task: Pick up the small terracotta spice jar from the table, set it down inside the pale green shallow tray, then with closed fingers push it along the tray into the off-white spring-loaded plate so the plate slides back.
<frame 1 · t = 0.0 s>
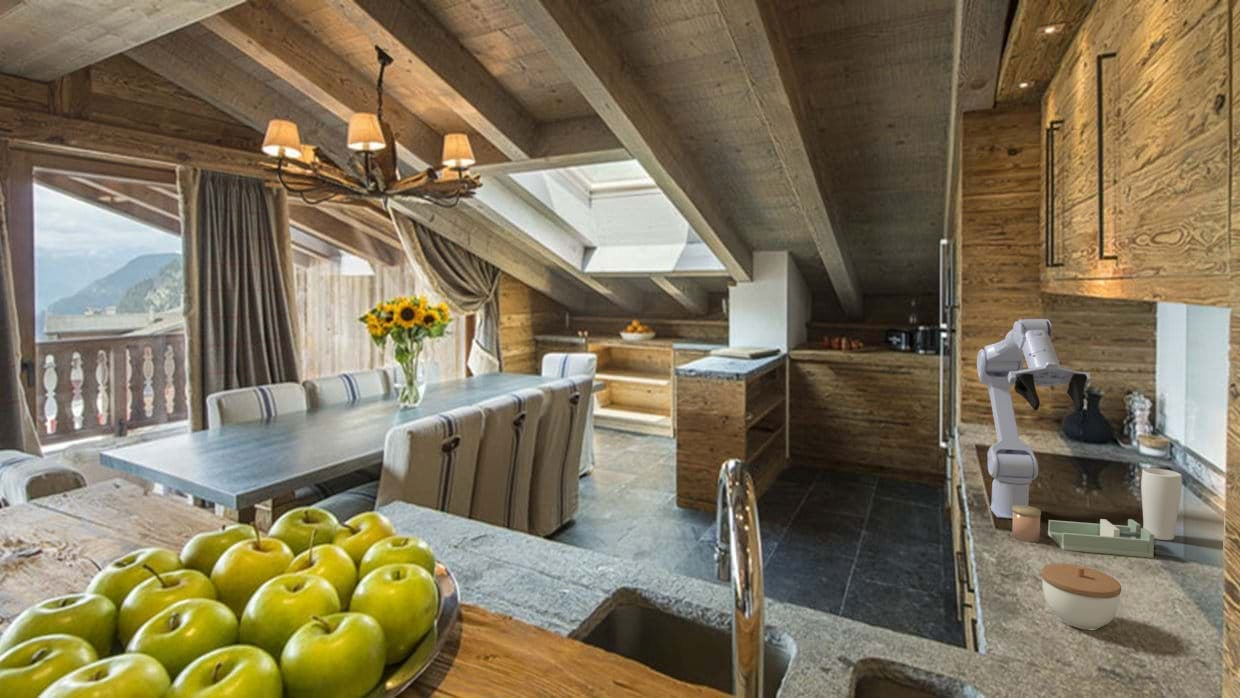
hand: (1058, 407, 123), 32 cm above the kitchen counter, tool tilted 50°, fingers open, 7 cm apart
jar: (1025, 537, 137), on the kitchen counter
pusher: (1128, 534, 130), point 3 cm above the kitchen counter, slide at 0.0 cm
drinking glass: (1158, 537, 136), on the kitchen counter
lidded jar: (1078, 621, 102), on the kitchen counter
pale green shallow tray: (1097, 545, 132), on the kitchen counter
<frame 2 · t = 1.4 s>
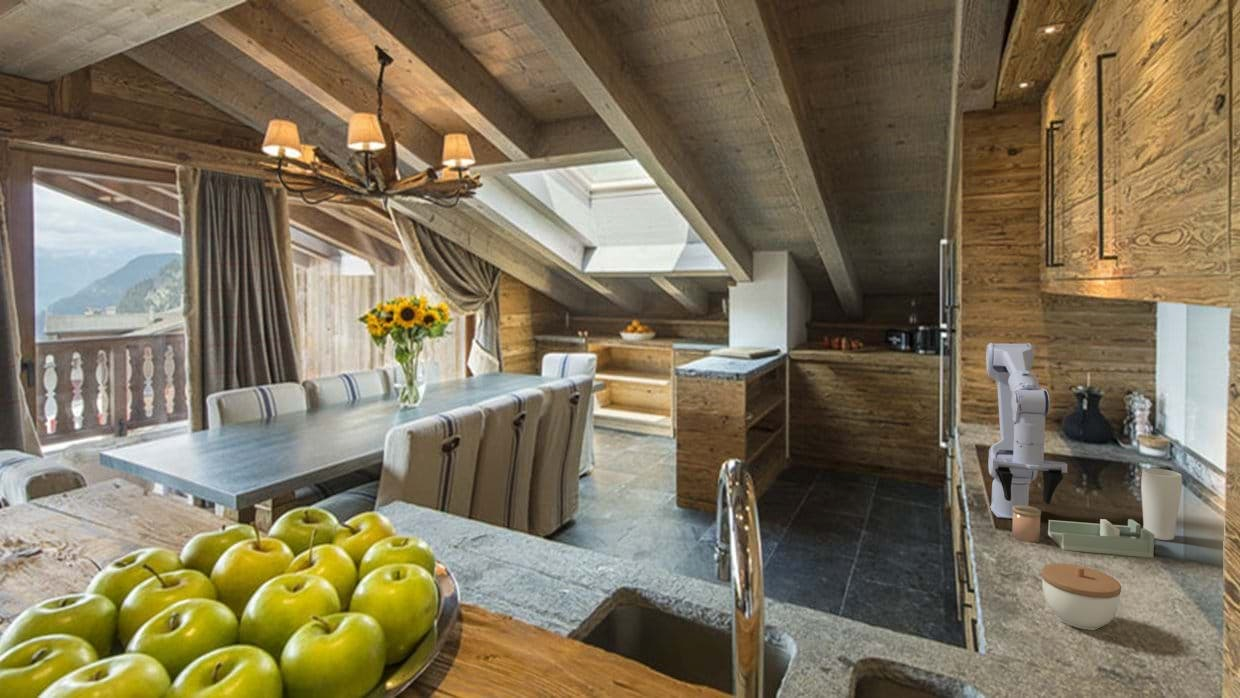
hand: (1026, 500, 136), 9 cm above the kitchen counter, tool pointing down, fingers open, 7 cm apart
nothing on the kitchen counter moved.
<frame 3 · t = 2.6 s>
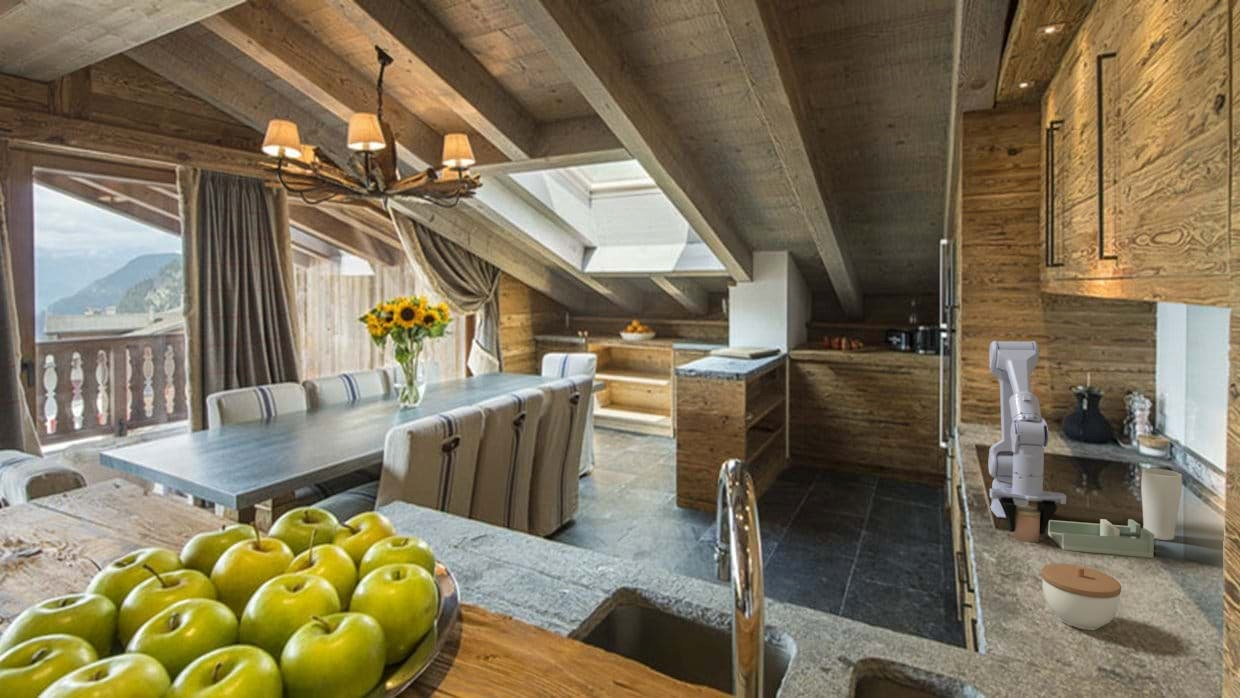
hand: (1025, 531, 137), 2 cm above the kitchen counter, tool pointing down, fingers closed on jar, 5 cm apart
jar: (1025, 537, 137), on the kitchen counter, touching gripper
everything else where it was.
when the fingers open (4 cm above the kitchen counter, at t = 5.4 s): jar stays where it is, resting on pale green shallow tray.
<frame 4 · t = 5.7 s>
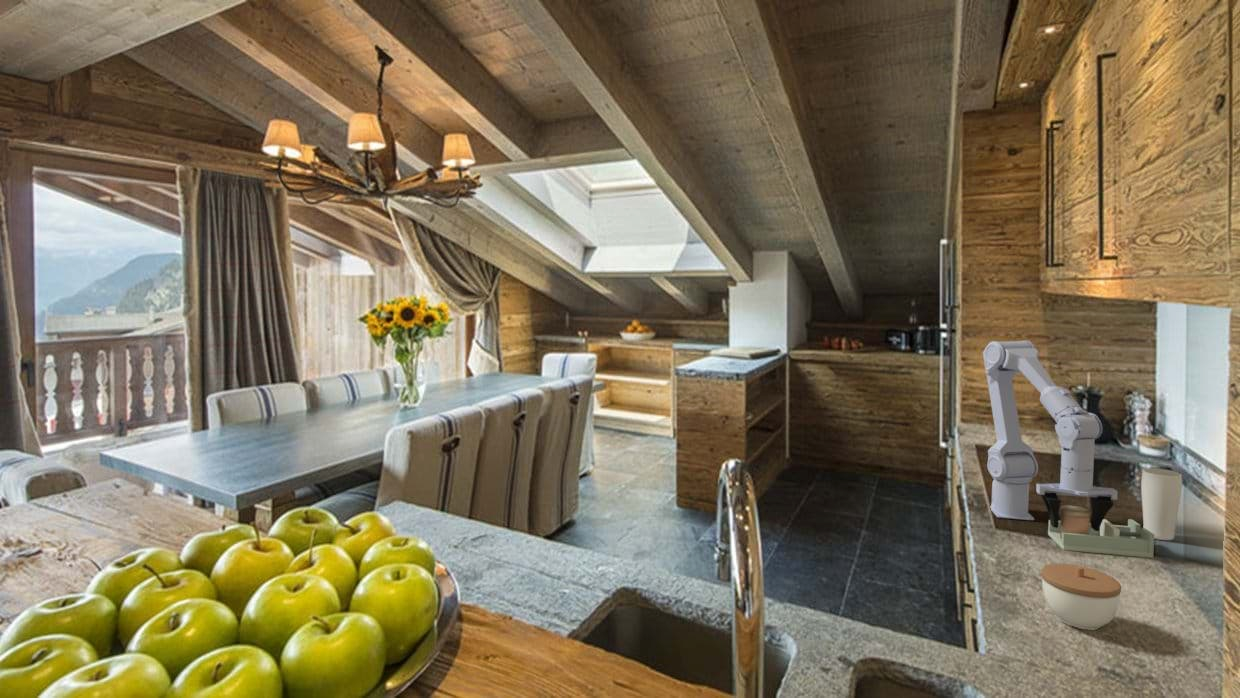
hand: (1074, 527, 133), 4 cm above the kitchen counter, tool pointing down, fingers open, 7 cm apart
jar: (1074, 539, 133), point 1 cm above the kitchen counter, touching pale green shallow tray
everything else where it was.
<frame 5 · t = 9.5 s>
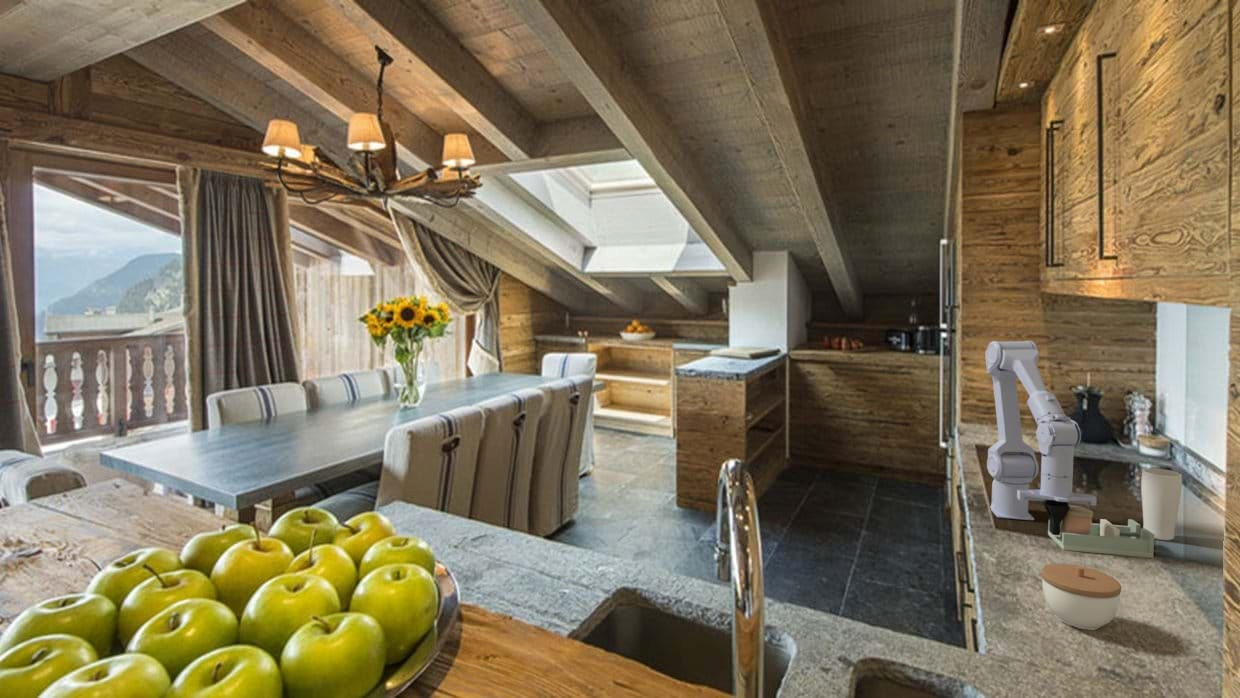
hand: (1054, 533, 134), 2 cm above the kitchen counter, tool pointing down, fingers closed, pressing on jar
jar: (1074, 538, 133), point 1 cm above the kitchen counter, touching gripper, pale green shallow tray
everything else where it was.
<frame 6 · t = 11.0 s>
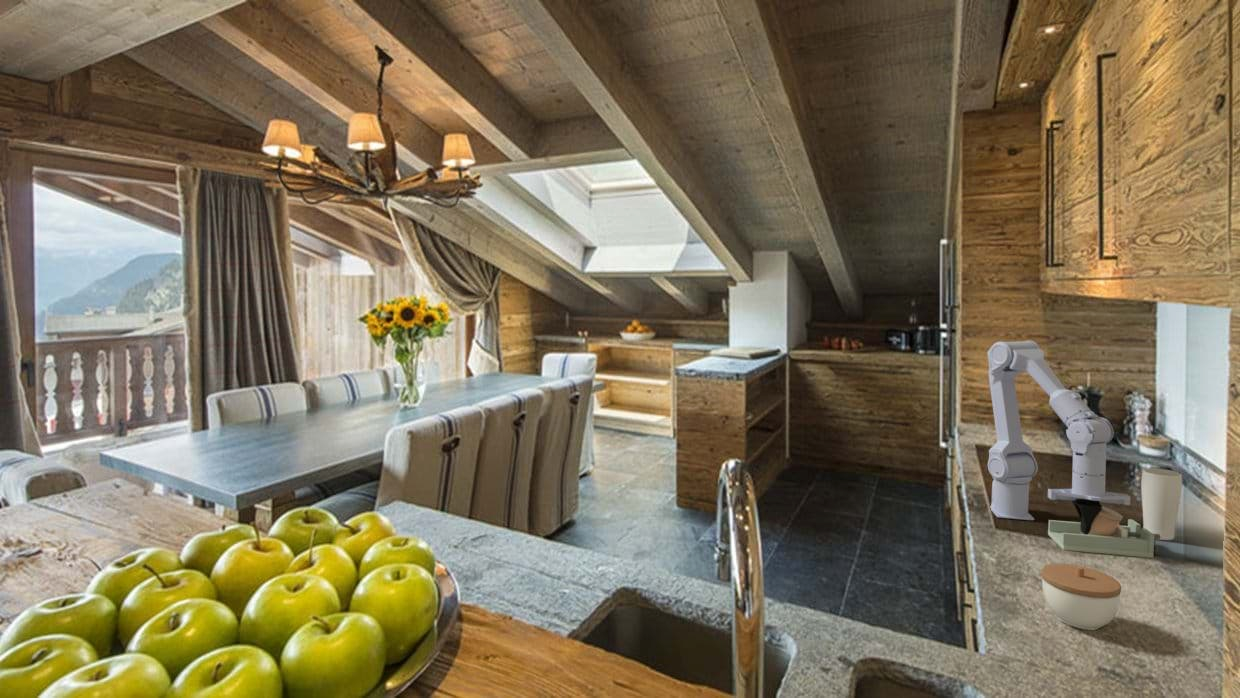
hand: (1087, 533, 132), 3 cm above the kitchen counter, tool pointing down, fingers closed, pressing on jar
jar: (1094, 538, 132), point 2 cm above the kitchen counter, tilted 17°, touching gripper, pale green shallow tray
pusher: (1136, 534, 130), point 3 cm above the kitchen counter, slide at 1.4 cm
everything else where it was.
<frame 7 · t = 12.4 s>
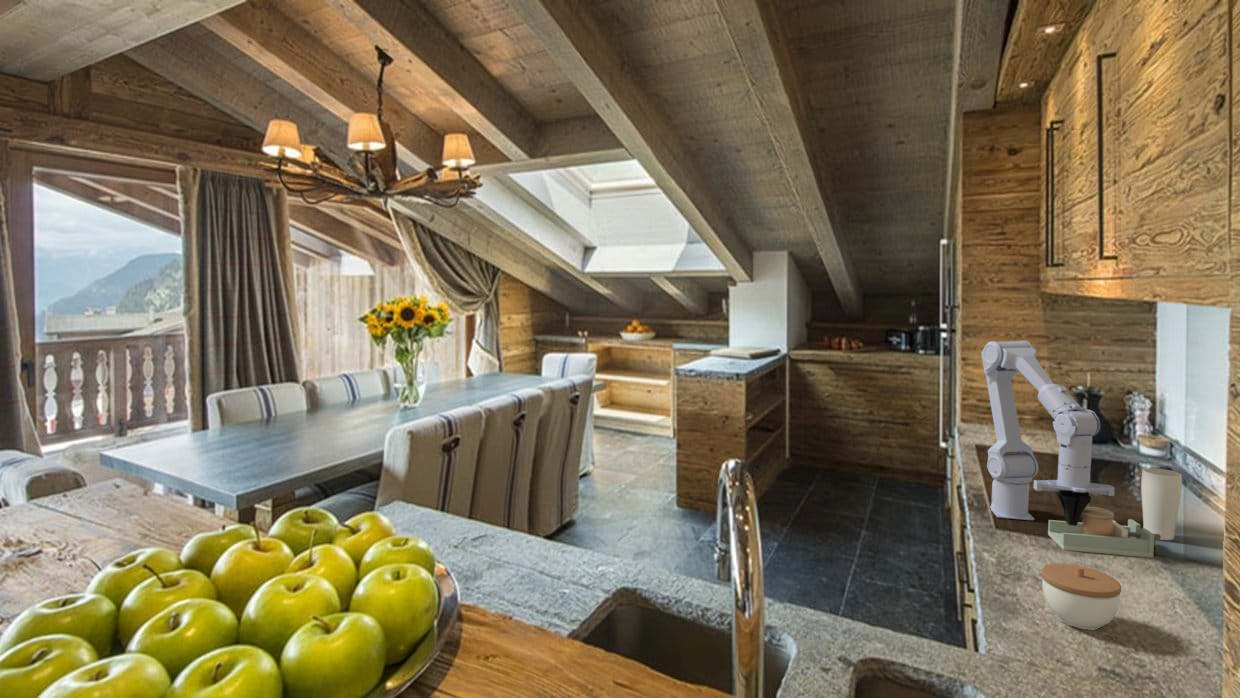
hand: (1071, 523, 133), 4 cm above the kitchen counter, tool pointing down, fingers closed
jar: (1096, 541, 132), point 1 cm above the kitchen counter, touching pale green shallow tray
everything else where it was.
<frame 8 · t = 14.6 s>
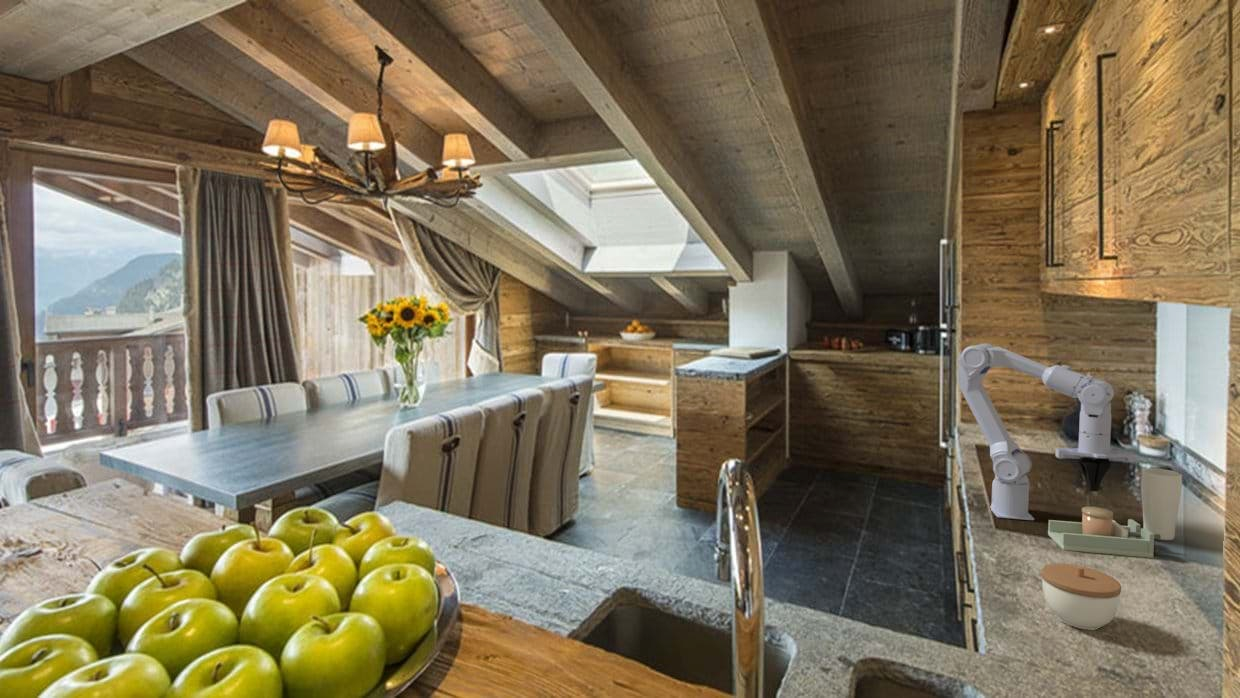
hand: (1092, 489, 139), 10 cm above the kitchen counter, tool pointing down, fingers closed
nothing on the kitchen counter moved.
at the end: jar inside the target area on the pale green shallow tray (0.5 cm from its centre), point 1.0 cm above the pale green shallow tray's base; jar tilted 1°; jar 3.7 cm from the pusher (horizontally) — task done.
